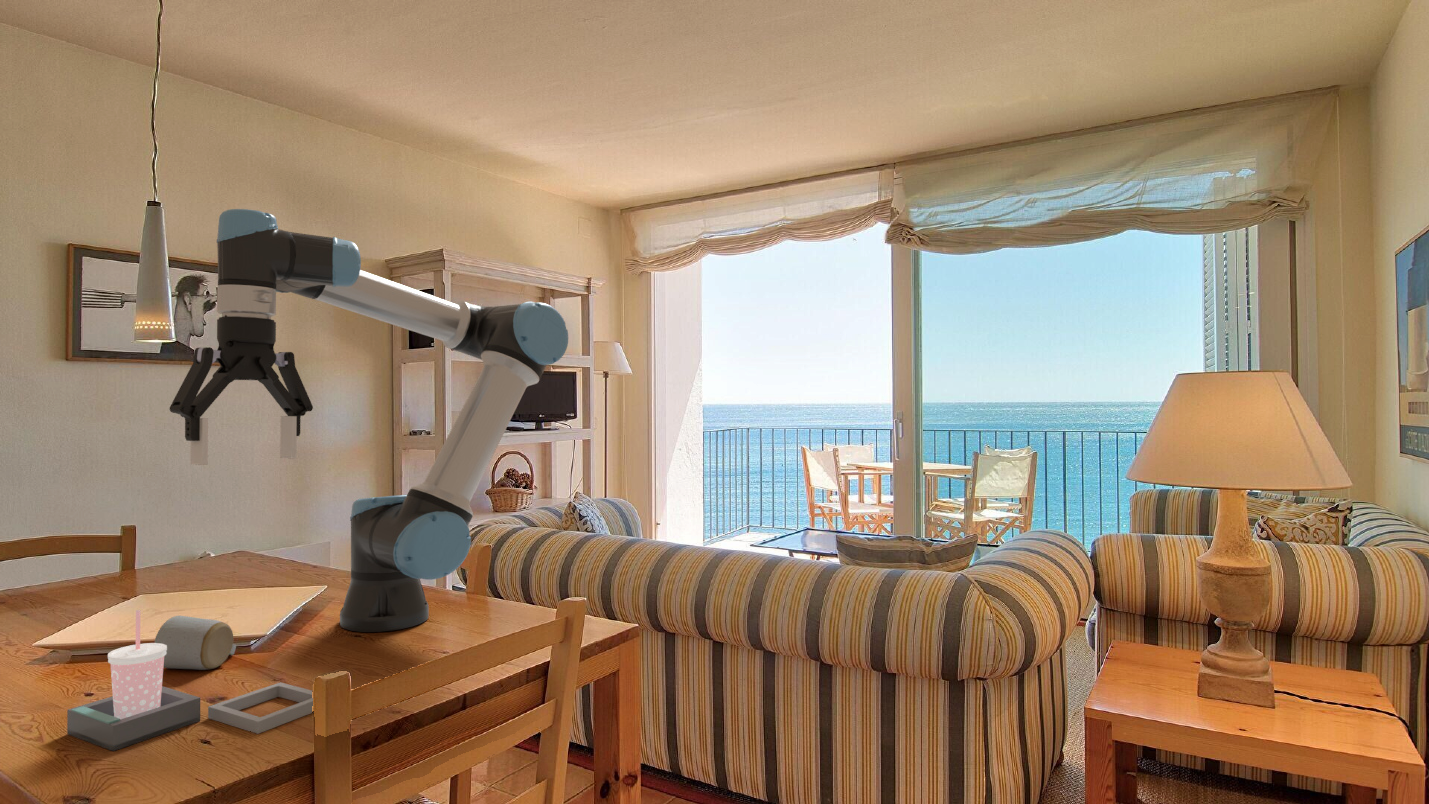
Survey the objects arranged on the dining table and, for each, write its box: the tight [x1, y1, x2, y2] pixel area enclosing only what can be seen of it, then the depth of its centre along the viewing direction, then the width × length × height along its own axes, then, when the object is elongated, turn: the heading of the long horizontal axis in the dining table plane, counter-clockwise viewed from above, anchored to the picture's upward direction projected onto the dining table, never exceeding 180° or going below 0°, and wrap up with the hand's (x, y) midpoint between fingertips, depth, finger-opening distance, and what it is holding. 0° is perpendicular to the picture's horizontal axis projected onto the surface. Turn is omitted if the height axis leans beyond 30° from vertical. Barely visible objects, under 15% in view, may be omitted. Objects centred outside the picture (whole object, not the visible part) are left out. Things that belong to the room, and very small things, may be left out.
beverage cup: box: [107, 609, 167, 719], centre depth 101 cm, size 6×6×14 cm
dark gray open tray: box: [66, 685, 201, 752], centre depth 101 cm, size 10×10×3 cm
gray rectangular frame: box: [207, 681, 313, 735], centre depth 107 cm, size 10×10×2 cm
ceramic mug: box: [153, 615, 237, 671], centre depth 125 cm, size 11×8×8 cm
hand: (245, 461), depth 120 cm, fingers open, 13 cm apart
